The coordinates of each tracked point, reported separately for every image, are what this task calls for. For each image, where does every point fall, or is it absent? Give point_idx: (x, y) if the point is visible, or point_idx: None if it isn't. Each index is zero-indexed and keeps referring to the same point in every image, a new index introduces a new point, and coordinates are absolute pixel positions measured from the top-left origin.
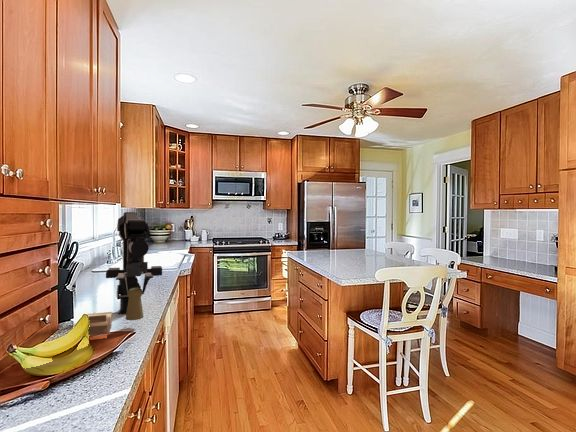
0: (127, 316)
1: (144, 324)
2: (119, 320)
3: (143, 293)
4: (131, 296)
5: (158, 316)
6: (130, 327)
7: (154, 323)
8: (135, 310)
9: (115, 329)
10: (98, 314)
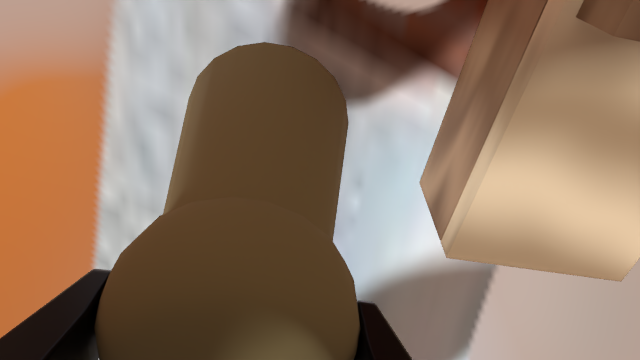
0: (338, 103)
1: None
2: (352, 268)
3: (89, 276)
4: (301, 220)
5: (99, 239)
6: None
7: (119, 110)
8: (256, 92)
9: (407, 115)
10: (557, 237)
